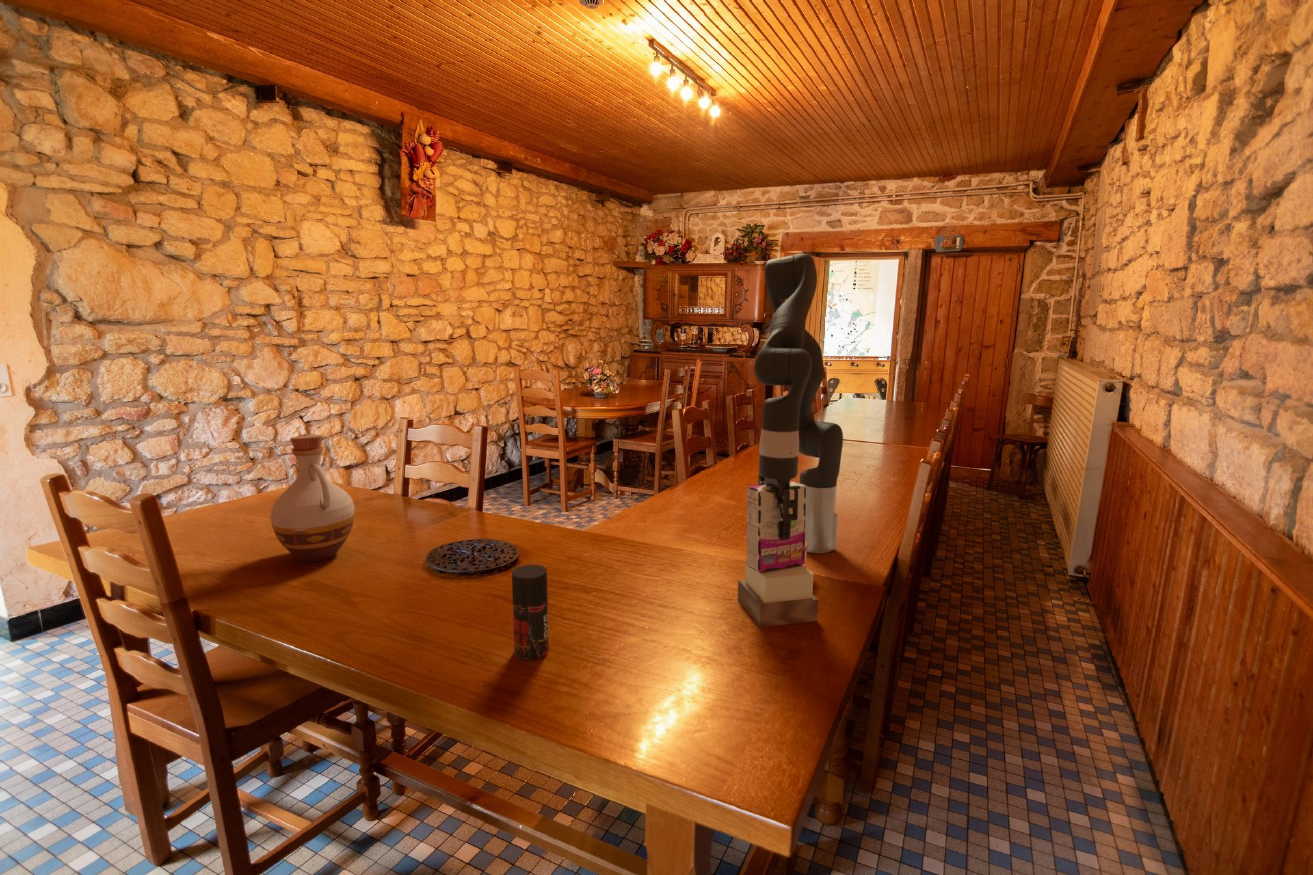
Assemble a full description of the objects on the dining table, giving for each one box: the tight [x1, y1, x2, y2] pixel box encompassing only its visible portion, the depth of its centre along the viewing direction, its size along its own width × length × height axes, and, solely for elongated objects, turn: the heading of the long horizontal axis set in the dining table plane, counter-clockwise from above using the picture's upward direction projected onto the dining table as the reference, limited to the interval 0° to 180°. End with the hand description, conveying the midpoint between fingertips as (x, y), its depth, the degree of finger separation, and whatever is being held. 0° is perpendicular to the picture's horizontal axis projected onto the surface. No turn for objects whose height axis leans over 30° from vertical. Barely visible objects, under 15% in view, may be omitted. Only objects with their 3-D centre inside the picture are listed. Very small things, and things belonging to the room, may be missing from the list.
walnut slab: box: [737, 578, 819, 628], centre depth 125 cm, size 12×12×5 cm
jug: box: [269, 434, 355, 563], centre depth 147 cm, size 20×18×30 cm
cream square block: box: [744, 558, 814, 603], centre depth 123 cm, size 10×10×5 cm
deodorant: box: [511, 564, 550, 662], centre depth 107 cm, size 6×6×15 cm
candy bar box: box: [746, 481, 806, 572], centre depth 122 cm, size 11×5×16 cm, turn 114°
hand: (774, 531), depth 122 cm, fingers open, 8 cm apart
